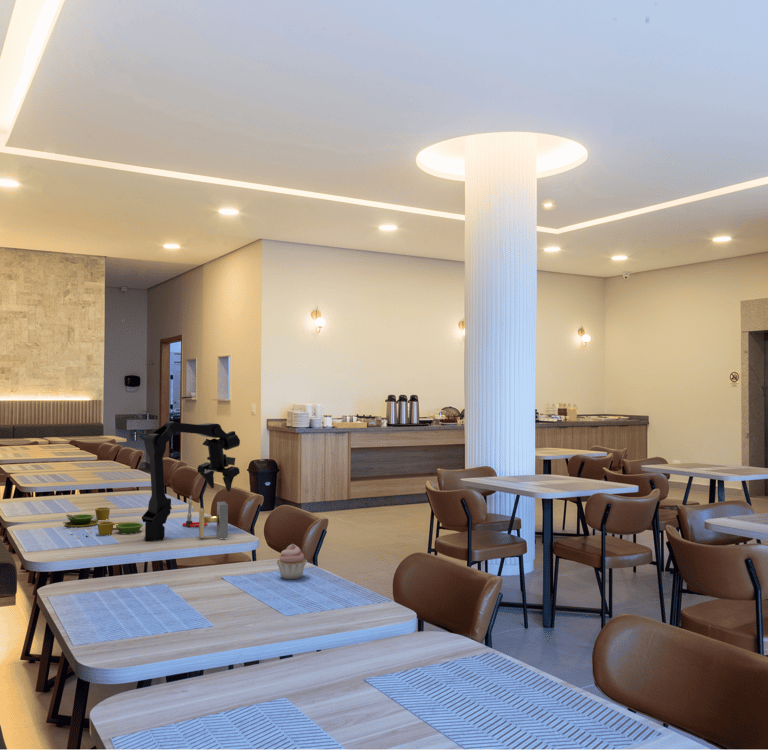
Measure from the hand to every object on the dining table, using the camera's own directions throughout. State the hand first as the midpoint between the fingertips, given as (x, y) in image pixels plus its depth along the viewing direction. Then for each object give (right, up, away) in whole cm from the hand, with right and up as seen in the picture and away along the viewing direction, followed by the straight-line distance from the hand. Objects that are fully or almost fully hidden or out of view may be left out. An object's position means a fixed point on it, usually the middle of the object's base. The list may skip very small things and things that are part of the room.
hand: (220, 489), depth 291 cm
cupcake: (+39, -14, -78) cm, 88 cm away
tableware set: (-48, -16, -1) cm, 51 cm away
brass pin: (+2, -14, -20) cm, 25 cm away
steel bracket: (+5, -15, -19) cm, 25 cm away
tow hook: (-11, -16, +5) cm, 20 cm away
